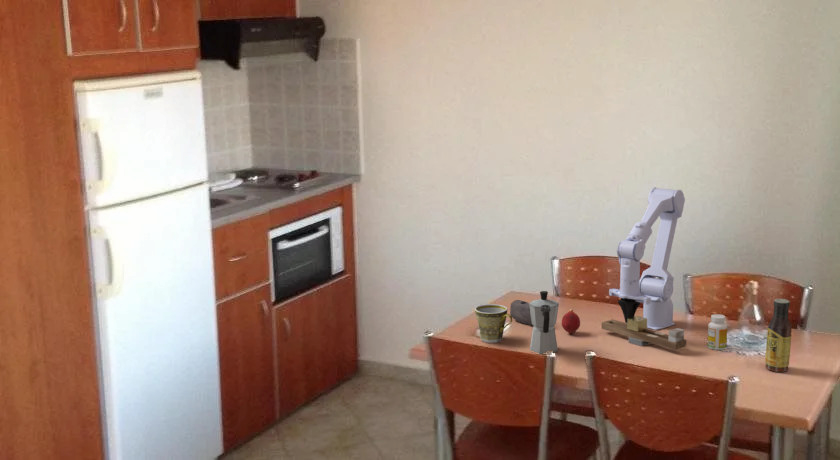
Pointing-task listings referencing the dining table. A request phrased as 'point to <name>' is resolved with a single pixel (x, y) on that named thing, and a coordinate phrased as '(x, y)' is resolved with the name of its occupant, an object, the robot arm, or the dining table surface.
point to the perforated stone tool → (521, 312)
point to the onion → (570, 322)
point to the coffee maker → (543, 324)
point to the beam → (647, 335)
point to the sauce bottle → (779, 338)
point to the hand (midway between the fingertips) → (629, 322)
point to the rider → (637, 323)
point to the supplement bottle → (717, 332)
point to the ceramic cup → (491, 322)
